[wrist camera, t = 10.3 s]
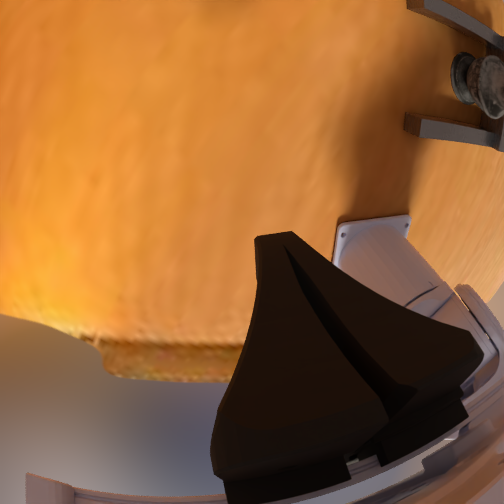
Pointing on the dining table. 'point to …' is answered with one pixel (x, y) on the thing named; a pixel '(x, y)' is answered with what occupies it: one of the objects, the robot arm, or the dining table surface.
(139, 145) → the dining table surface
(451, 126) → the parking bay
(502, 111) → the weathered grey candle holder
